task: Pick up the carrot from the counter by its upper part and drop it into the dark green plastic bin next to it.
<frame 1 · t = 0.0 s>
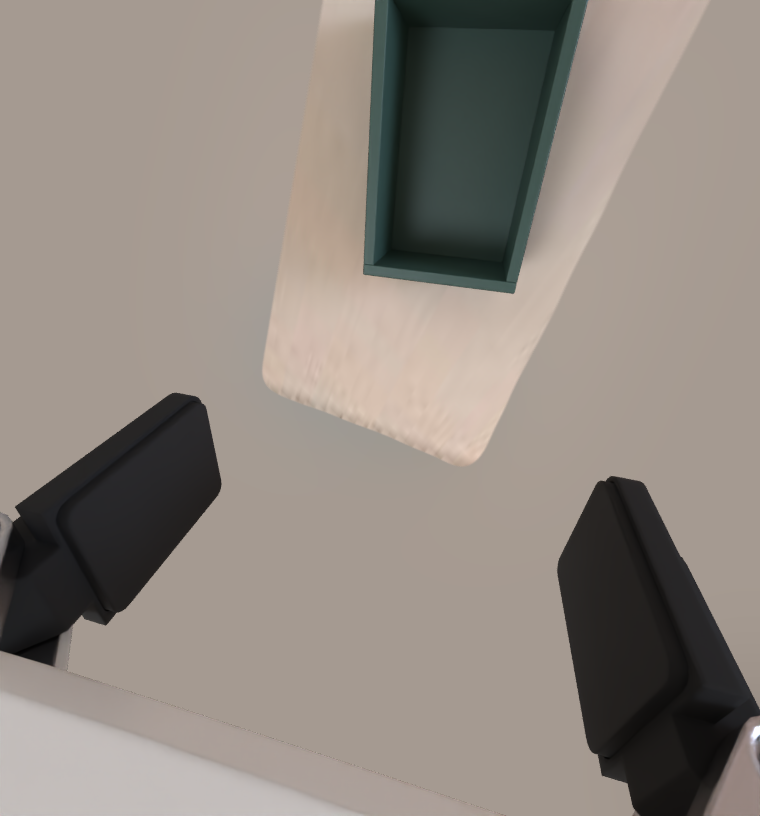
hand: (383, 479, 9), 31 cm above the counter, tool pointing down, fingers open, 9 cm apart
bin: (460, 157, 32), on the counter
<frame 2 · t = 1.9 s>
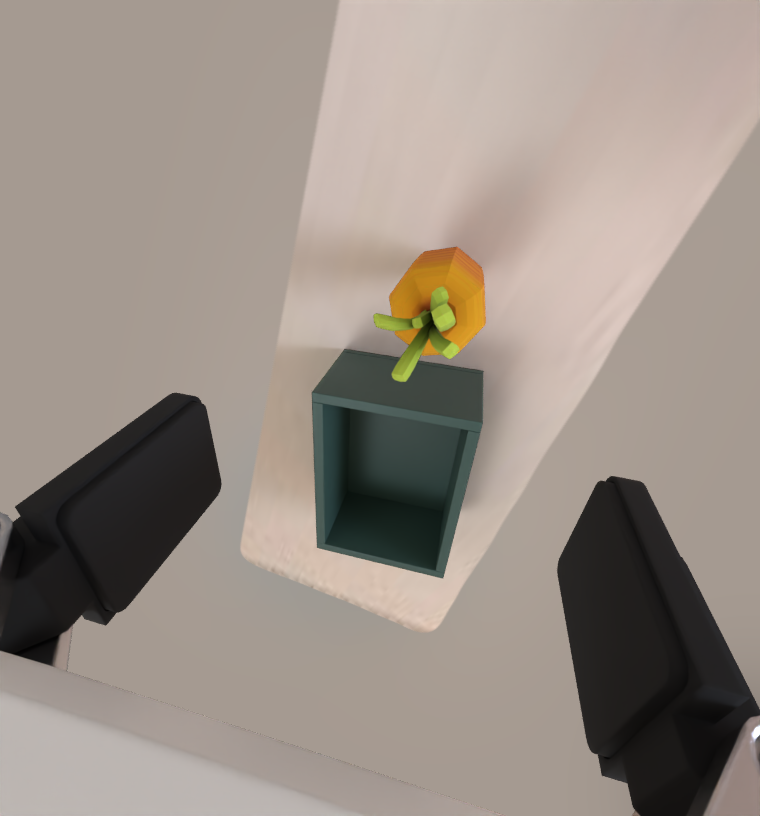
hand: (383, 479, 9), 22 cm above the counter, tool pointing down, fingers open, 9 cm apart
bin: (402, 439, 37), on the counter
carrot: (452, 264, 28), on the counter
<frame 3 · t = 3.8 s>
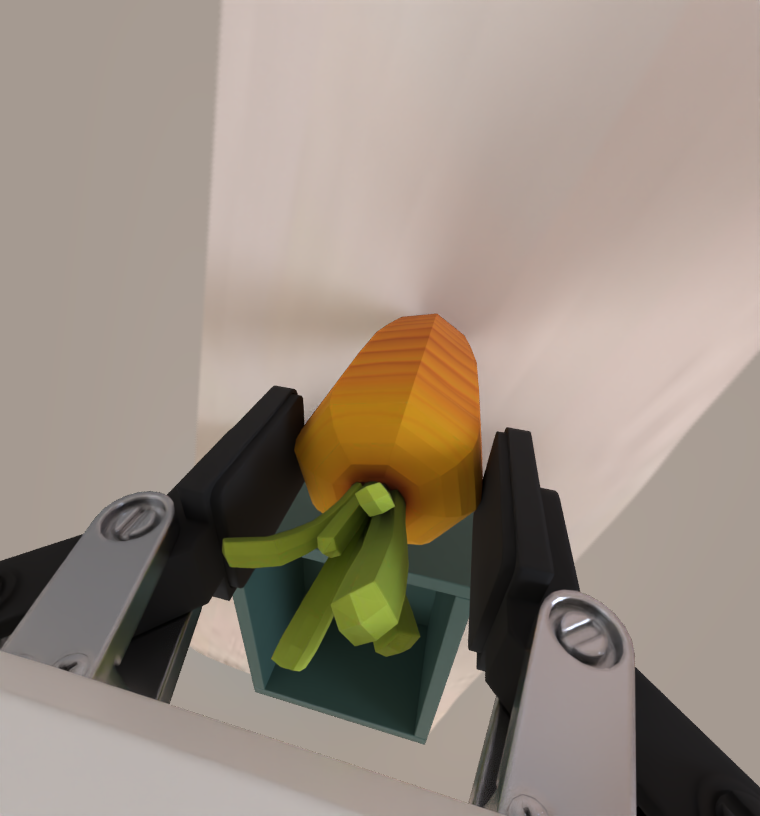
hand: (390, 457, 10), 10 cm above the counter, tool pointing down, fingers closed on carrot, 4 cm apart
bin: (372, 541, 27), on the counter
carrot: (433, 326, 19), on the counter, touching gripper
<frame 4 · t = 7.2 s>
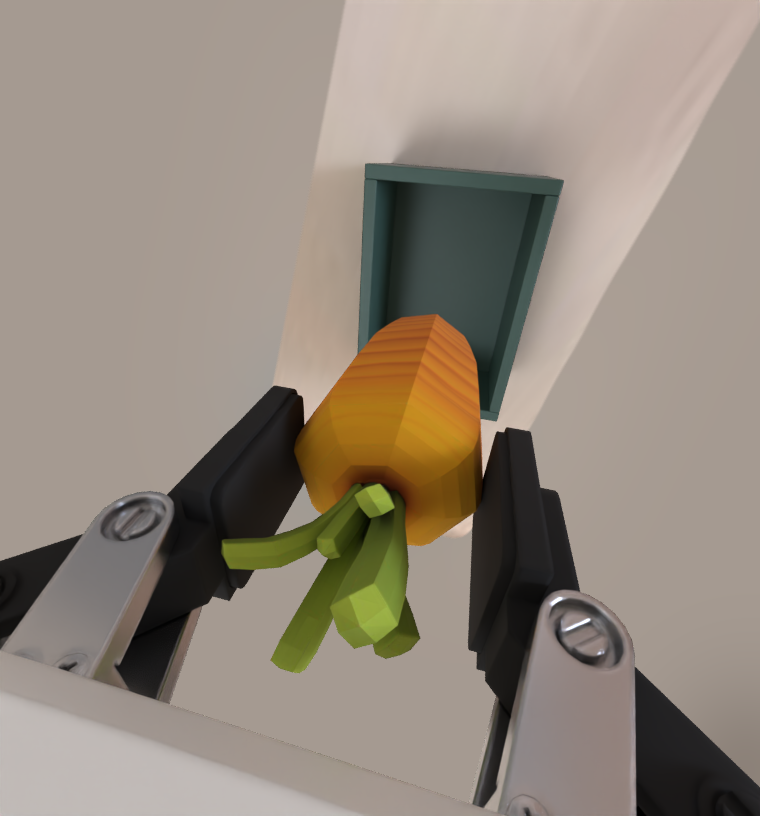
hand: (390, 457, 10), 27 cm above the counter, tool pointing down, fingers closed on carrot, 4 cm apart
bin: (448, 282, 34), on the counter
carrot: (433, 326, 18), point 17 cm above the counter, touching gripper
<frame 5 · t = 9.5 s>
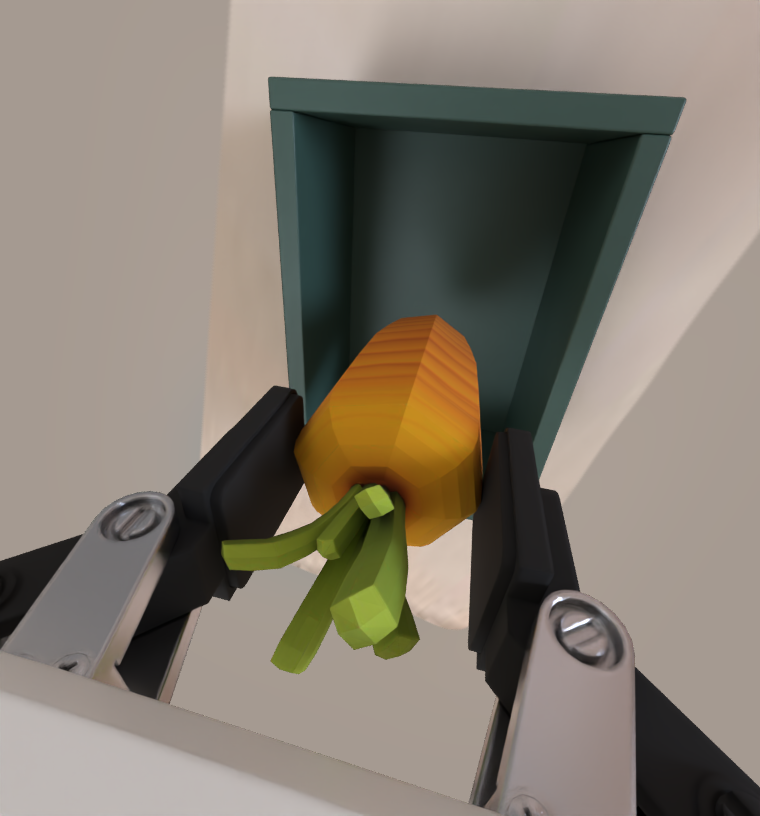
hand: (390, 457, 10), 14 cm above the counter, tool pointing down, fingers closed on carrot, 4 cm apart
bin: (441, 300, 22), on the counter
carrot: (433, 327, 19), point 4 cm above the counter, touching gripper
when the fingers open (10 cm above the counter, at t = 10.8 s): carrot stays where it is, resting on bin.
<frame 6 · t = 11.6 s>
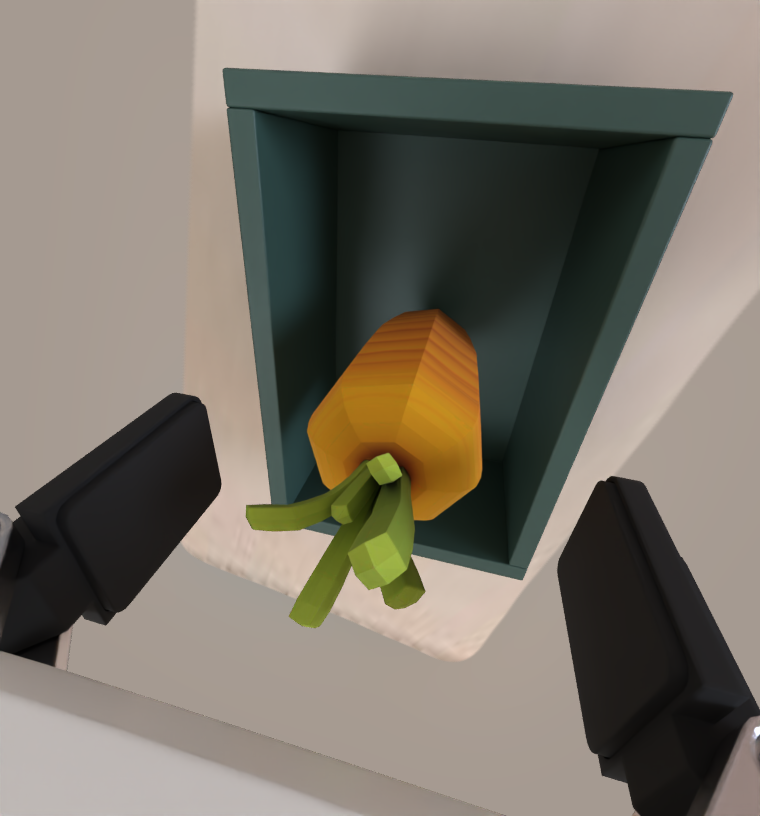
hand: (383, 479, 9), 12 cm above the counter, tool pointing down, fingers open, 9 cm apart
bin: (435, 320, 20), on the counter
carrot: (434, 322, 19), resting on bin
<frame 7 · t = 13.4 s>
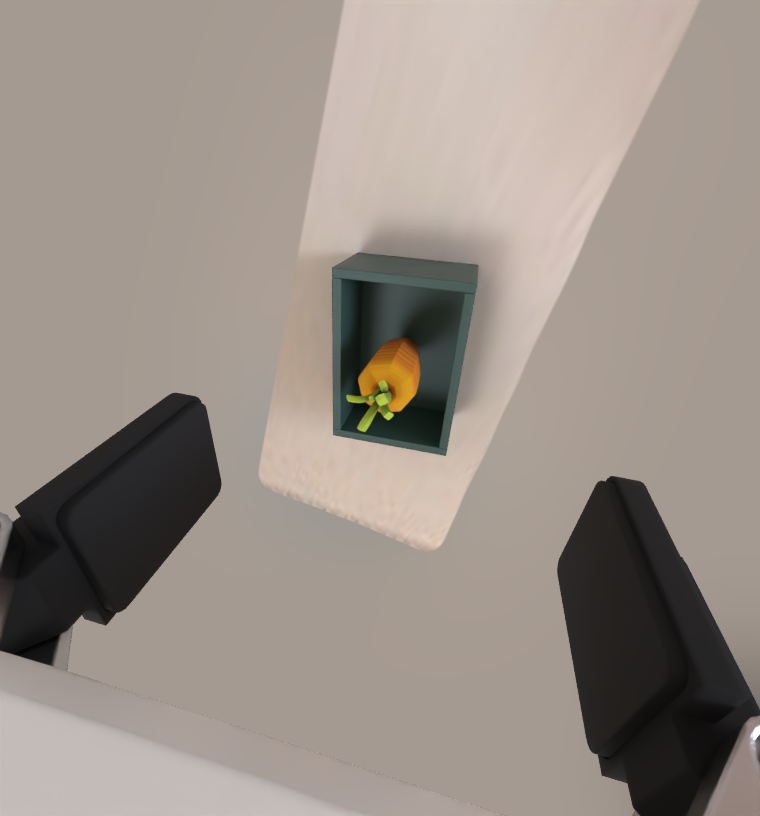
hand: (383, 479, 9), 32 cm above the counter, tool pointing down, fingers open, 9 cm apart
bin: (408, 341, 41), on the counter
carrot: (407, 342, 41), resting on bin
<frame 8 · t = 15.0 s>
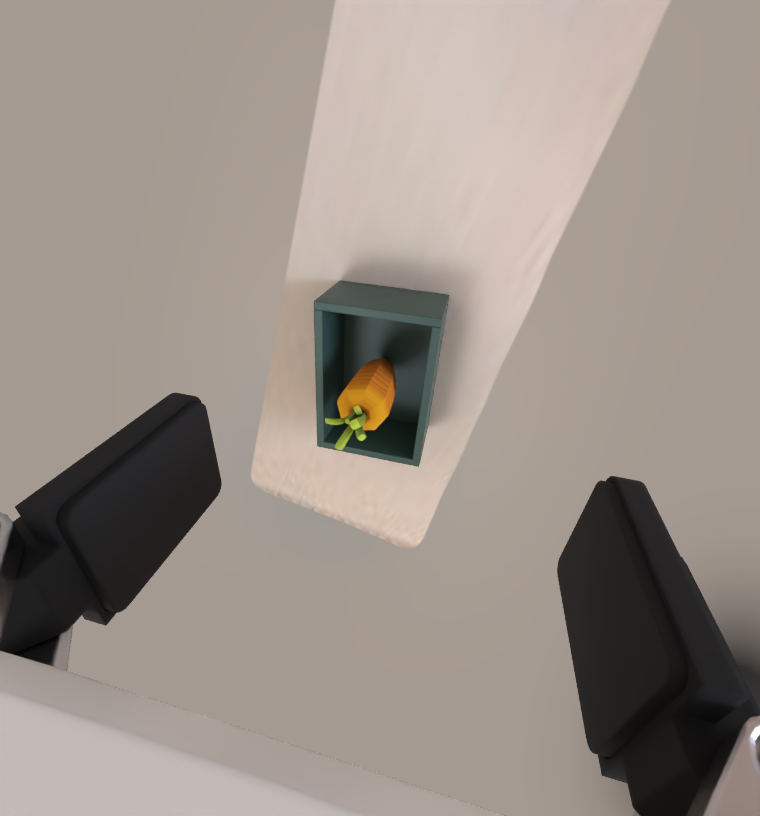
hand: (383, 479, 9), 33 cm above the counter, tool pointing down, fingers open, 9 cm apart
bin: (387, 359, 45), on the counter
carrot: (386, 361, 45), resting on bin
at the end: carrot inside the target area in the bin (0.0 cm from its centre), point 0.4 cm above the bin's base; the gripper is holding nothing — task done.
